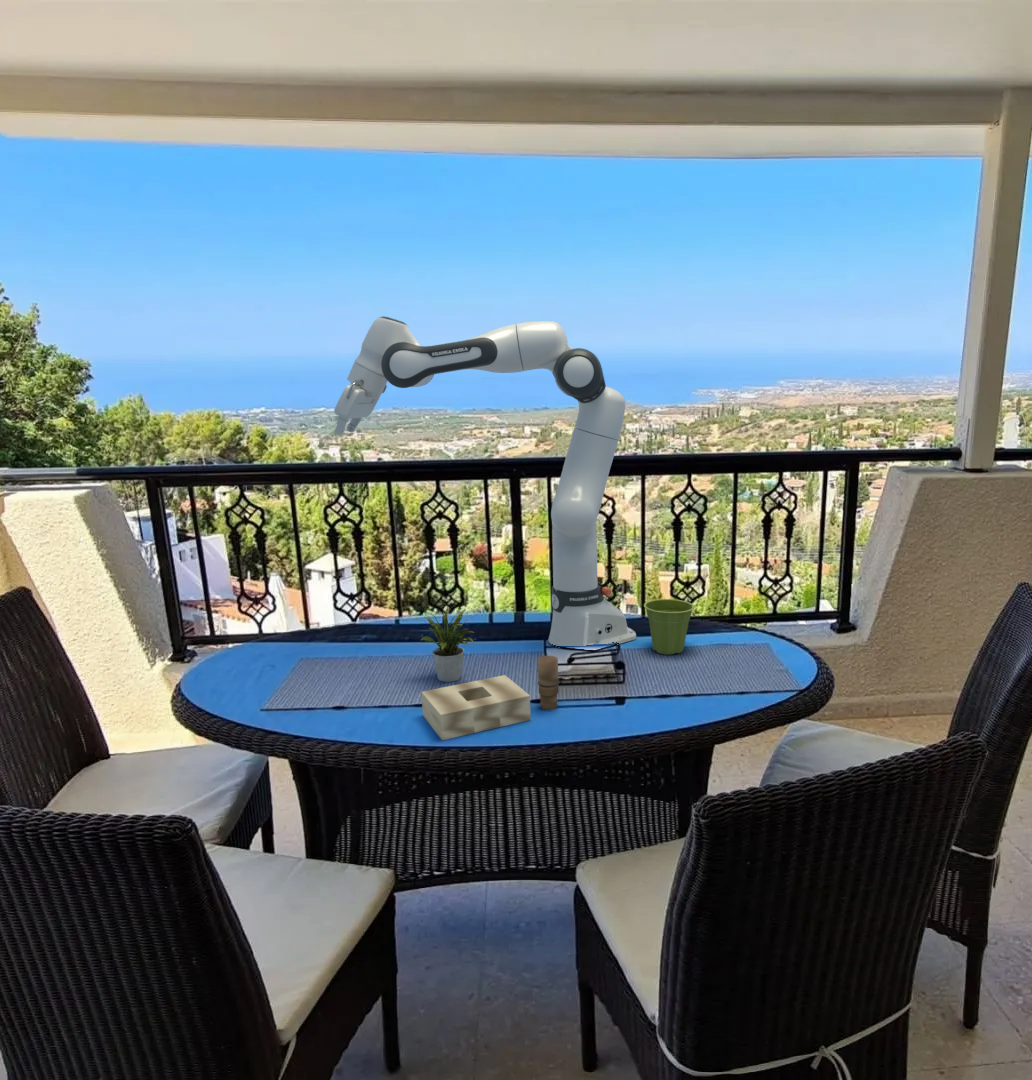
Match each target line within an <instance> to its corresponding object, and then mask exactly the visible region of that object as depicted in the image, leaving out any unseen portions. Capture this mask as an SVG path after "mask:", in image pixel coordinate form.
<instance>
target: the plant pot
mask: <svg viewBox="0 0 1032 1080" xmlns="http://www.w3.org/2000/svg"><path fill="white" fill-rule="evenodd" d="M643 608H644V609H646V615H647V616H646V617H647V618H648V623H649V630H650V636H651V638H650V639H651V644H652V649H653V651H656V652H657V653H659V654H662V655H669V656H671V655H674V654H681V653H682V652H683V651H684V647H685V643H686V639H687V638H686V637H687V632H688V628H689V623H690V619H691V617H692V613H693V612H692V611H693V610H694V609H695V605H694V604H693V603H691V602H689V601H684V600H682V599H681V600H680V599H674V598H673V599H672V598H659V599H652V600H648V601H646V602H645V603H643Z"/></svg>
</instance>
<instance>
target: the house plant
mask: <svg viewBox="0 0 1032 1080" xmlns="http://www.w3.org/2000/svg"><path fill="white" fill-rule="evenodd" d="M448 610H449V607H447V608H446V610H445V612H444V611H442V616H443V617H442V618H443V625H444V627H443V626H441V624H440V623H439V621H438V618H436V616H435V615H434V614H432V613H429V612H428V614H430V615H432V617H433V618H434V619H435V621H436V623H435V621H433V620H432V618H431V616H428V615H426V614H424V615H425V616H424V618H425V620H427V621H428V622H429V625H430V626H432V627H433V628H432V627H429V628H427V629H429V630H430V631H432V633H433V635H435V637H436V638H435V639H436V640H437V641H436V640H435V639H433V638H432V637H430V636H426V635H425V636H423V637H422V638H421V639H420V642H421V641H423V642H422V644H423V643H433V645H434V644H436V645H437V646H438V647H437V648H435V649H434V650H432V652H431V653H432V656H433V661H434V666H435V670H436V675H437V680H439V681H440V682H446V683H450V682H456V681H458V680H460V679H462V672H463V665H464V655H465V649H464V648H463V647H461V646H459V645H460V644H462V645H465V646H466V647H469V646H468V641H469V642H472V644H475V642H474V640H473V639H472V638H471V637H467V636H466V635H469V634H471V633H472V634H475V633H476V632H474V631H471V630H469V628H462V629H460V628H461V627H462V626H463V624H464V623H466V622H467V621H468V620H471V619H472V618H474V616H472V617H469V618H467V619H466V620H464V622H462V623H460V622H461V621H462V618H463V614H464V613H465V612H466V610H467V608H464V609H463V610H461V611H459V612H458V613H456V614H455V615H454V616H453V617H452V619H451V620H450V623H449V620H448ZM415 619H416V620H420V621H423V622H424V623H426V621H425V620H423V619H421V618H419V617H415ZM458 626H459V627H458ZM464 636H465V637H464Z"/></svg>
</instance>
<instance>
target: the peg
mask: <svg viewBox="0 0 1032 1080" xmlns="http://www.w3.org/2000/svg"><path fill="white" fill-rule="evenodd" d="M558 659H559V658H558V657H557V656H554V655H542V656H540V657H538V658H537V674H538V676H537V679H538V681H537V686H538V694H539V699H540V700H539V701H540V708H541V709H543V710H547V711H550V710H552V711H553V710H555V709H557V708H558V694H559V691H560V689H559V687H560V686H559V684H560V681H559V660H558Z"/></svg>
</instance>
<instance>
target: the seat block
mask: <svg viewBox="0 0 1032 1080" xmlns="http://www.w3.org/2000/svg"><path fill="white" fill-rule="evenodd" d="M421 707H422V716H423V718H424V719H425V720H426V722H427V723H428V724H429V726H430V727H431V728H432V729H433V731H434V732H435V733H436V734H437V736H438V737H439V738H440V740H441V741H446V740H450V739H454V738H458V737H461V736H463V737H464V736H466V735H467V736H468V735H472V734H474V733H481V732H483V731H484V732H485V731H488V730H489V731H490V730H492V729H493V730H494V729H496V728H502V727H506V726H509V725H515V724H519V723H524V722H527V721H531V696H530V694H529V693H527V692H526V691H525V690H524V689H523V688H522V687H520V686H519V685H518V684H517V683H516V682H514V681H513V680H512V679H511V678H509V677H508V676H507V675H506V674H503V675H498V676H494V677H488V678H483V679H479V680H472V681H468V682H464V683H459V684H458V683H457V684H455V685H448V686H445V687H444V686H443V687H439V688H434V689H429V690H423V691H421Z"/></svg>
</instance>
